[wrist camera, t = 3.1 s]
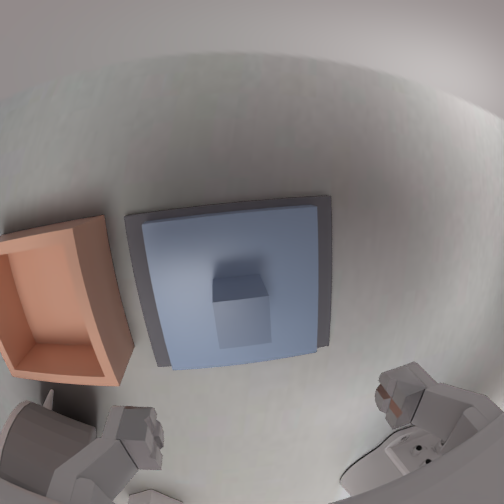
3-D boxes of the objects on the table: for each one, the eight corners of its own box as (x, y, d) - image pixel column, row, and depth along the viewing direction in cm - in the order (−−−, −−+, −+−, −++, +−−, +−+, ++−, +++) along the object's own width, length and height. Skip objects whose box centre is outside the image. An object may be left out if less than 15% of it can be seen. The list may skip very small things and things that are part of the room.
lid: (310, 204, 19) (339, 214, 14) (311, 343, 22) (332, 379, 17) (145, 221, 18) (124, 236, 13) (174, 361, 21) (167, 401, 16)
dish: (104, 214, 18) (72, 228, 13) (134, 346, 21) (119, 386, 16) (3, 234, 17) (-34, 250, 12) (37, 346, 20) (12, 376, 15)
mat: (327, 195, 20) (331, 196, 19) (326, 341, 23) (328, 345, 22) (126, 215, 18) (123, 216, 18) (159, 362, 21) (158, 366, 21)
